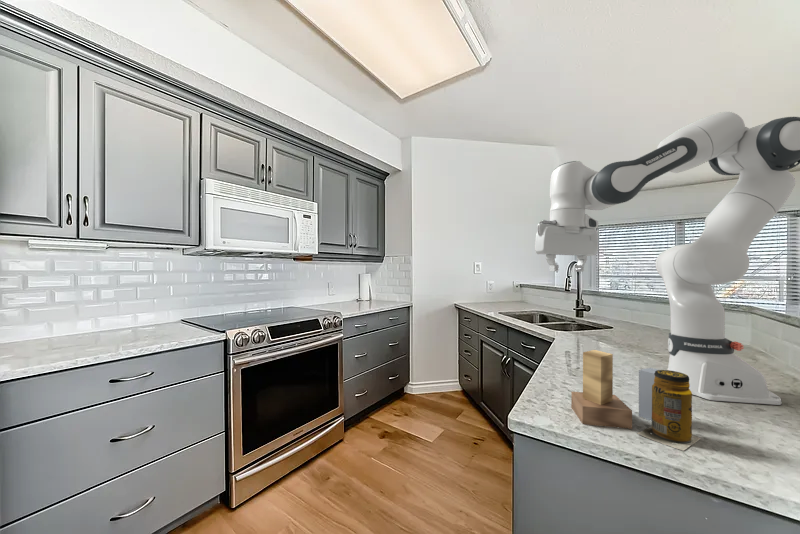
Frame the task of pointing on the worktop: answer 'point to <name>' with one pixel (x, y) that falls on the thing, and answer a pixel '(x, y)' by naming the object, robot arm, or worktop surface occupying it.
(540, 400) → the worktop surface
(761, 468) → the worktop surface
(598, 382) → the oak pillar
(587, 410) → the walnut plinth
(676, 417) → the condiment
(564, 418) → the worktop surface
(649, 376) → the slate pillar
